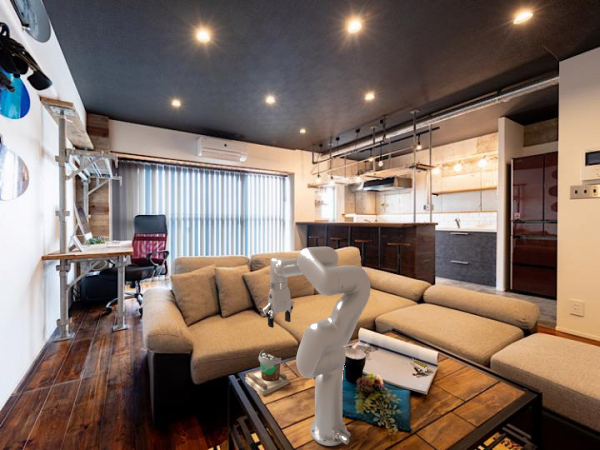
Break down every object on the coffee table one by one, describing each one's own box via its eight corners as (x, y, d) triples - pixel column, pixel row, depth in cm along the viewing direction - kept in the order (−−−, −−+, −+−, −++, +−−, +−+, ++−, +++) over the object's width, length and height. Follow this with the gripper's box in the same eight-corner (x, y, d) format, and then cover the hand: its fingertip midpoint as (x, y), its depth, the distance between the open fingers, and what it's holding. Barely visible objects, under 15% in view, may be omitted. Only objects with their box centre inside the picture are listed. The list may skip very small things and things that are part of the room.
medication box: (402, 364, 140) (402, 357, 139) (405, 362, 141) (405, 354, 141) (425, 375, 130) (424, 366, 129) (428, 372, 131) (427, 364, 131)
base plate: (289, 383, 123) (289, 375, 123) (262, 396, 114) (262, 387, 114) (270, 370, 134) (270, 363, 134) (245, 381, 124) (245, 373, 124)
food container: (252, 375, 126) (252, 353, 125) (263, 370, 130) (263, 349, 130) (270, 386, 117) (270, 363, 117) (281, 380, 122) (281, 357, 121)
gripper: (268, 290, 115) (269, 331, 115) (298, 283, 127) (299, 321, 127) (258, 287, 120) (258, 327, 120) (288, 281, 132) (288, 317, 132)
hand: (279, 324), depth 123 cm, fingers open, 9 cm apart
